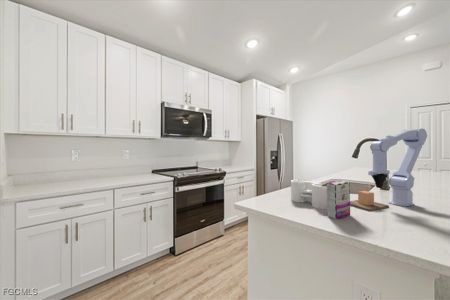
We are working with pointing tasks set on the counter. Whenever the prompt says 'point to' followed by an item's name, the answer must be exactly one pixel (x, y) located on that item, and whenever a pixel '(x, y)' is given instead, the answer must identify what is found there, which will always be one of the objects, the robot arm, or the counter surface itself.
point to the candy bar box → (338, 199)
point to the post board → (368, 208)
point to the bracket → (309, 193)
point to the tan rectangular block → (366, 198)
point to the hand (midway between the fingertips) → (379, 187)
